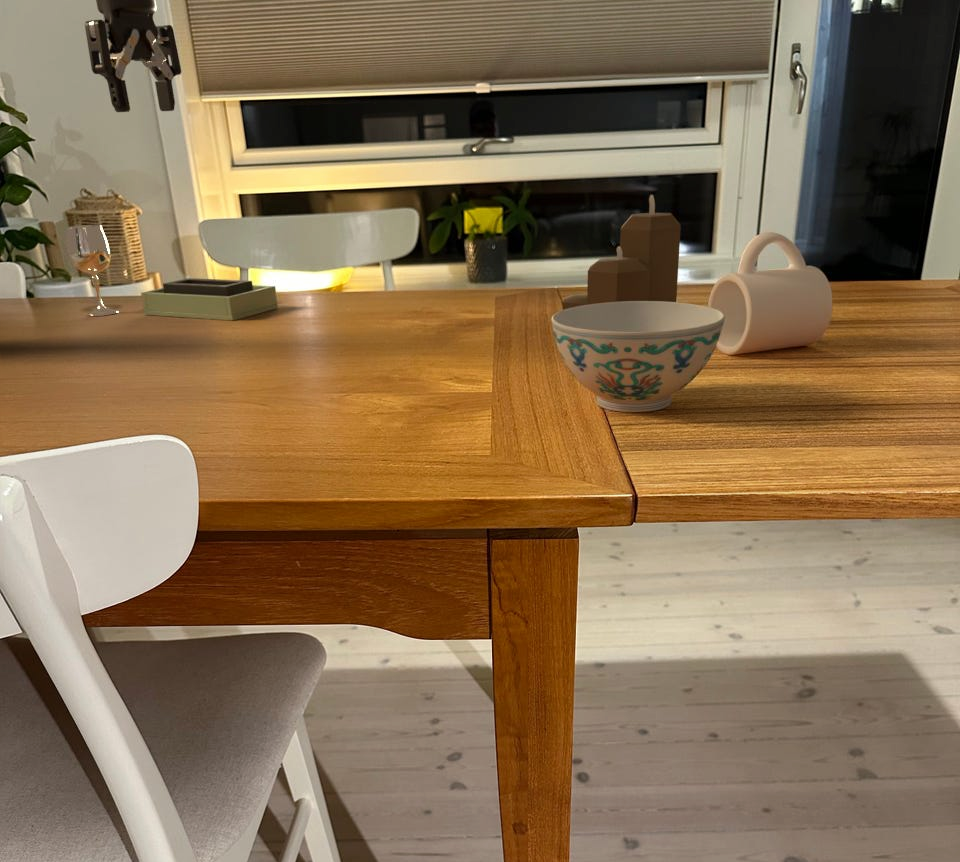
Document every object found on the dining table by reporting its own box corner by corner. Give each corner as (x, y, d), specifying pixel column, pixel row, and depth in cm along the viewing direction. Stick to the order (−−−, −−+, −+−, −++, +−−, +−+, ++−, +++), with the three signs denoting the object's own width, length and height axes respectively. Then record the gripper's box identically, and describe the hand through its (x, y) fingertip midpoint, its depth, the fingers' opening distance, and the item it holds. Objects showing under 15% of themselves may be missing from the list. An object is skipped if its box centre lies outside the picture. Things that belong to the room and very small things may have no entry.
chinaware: (601, 376, 97) (602, 296, 93) (743, 393, 89) (751, 307, 85) (520, 412, 86) (519, 323, 82) (674, 435, 78) (679, 338, 75)
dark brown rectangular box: (167, 308, 141) (162, 283, 139) (193, 302, 145) (189, 278, 143) (230, 312, 136) (226, 286, 134) (255, 305, 140) (252, 280, 138)
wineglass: (130, 311, 143) (113, 224, 137) (98, 318, 139) (78, 228, 133) (106, 308, 146) (88, 224, 140) (74, 315, 142) (54, 228, 136)
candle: (647, 317, 124) (653, 190, 117) (703, 335, 113) (713, 195, 105) (551, 327, 120) (551, 197, 113) (599, 347, 109) (602, 204, 102)
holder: (145, 314, 140) (140, 292, 139) (193, 303, 148) (189, 282, 146) (232, 320, 133) (229, 297, 132) (278, 308, 141) (275, 286, 139)
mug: (827, 351, 103) (844, 231, 97) (746, 361, 100) (757, 238, 94) (781, 338, 110) (793, 225, 104) (703, 347, 107) (712, 232, 101)
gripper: (139, -22, 132) (162, 112, 140) (57, -33, 121) (86, 113, 129) (180, -27, 129) (201, 110, 137) (99, -39, 118) (127, 111, 126)
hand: (145, 111), depth 133 cm, fingers open, 8 cm apart
